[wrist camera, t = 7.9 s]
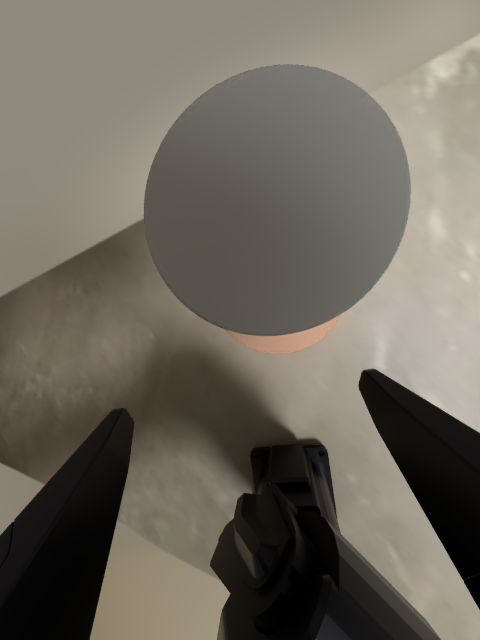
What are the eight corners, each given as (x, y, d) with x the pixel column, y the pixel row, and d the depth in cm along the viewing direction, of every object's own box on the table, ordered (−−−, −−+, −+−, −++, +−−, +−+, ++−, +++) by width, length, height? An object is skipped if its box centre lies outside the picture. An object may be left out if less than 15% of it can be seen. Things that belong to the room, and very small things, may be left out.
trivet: (352, 342, 19) (357, 344, 18) (223, 357, 21) (220, 360, 20) (334, 209, 19) (337, 202, 18) (205, 236, 21) (201, 231, 19)
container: (235, 284, 19) (89, 201, 4) (280, 246, 18) (285, -12, 4) (271, 328, 19) (246, 398, 4) (318, 291, 18) (495, 208, 3)
